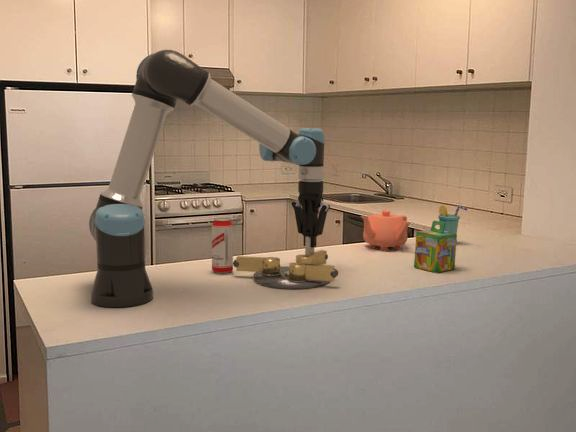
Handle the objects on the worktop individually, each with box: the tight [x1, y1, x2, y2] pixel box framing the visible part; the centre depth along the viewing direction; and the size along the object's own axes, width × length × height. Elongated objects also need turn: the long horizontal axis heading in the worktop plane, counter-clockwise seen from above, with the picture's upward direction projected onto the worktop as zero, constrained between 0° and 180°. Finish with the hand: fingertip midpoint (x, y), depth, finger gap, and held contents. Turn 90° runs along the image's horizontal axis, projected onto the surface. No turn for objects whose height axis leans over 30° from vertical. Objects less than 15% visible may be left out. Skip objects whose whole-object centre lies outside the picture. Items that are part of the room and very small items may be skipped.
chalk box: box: [413, 220, 458, 274], centre depth 196 cm, size 9×9×15 cm
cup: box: [437, 204, 468, 235], centre depth 234 cm, size 14×8×15 cm, turn 35°
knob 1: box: [233, 255, 281, 275], centre depth 184 cm, size 14×5×4 cm, turn 82°
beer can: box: [211, 217, 234, 275], centre depth 189 cm, size 6×6×16 cm
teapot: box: [360, 209, 410, 252], centre depth 227 cm, size 16×17×14 cm
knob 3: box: [289, 262, 339, 282], centre depth 175 cm, size 14×5×4 cm, turn 76°
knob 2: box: [295, 249, 329, 265], centre depth 190 cm, size 14×5×4 cm, turn 142°
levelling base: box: [253, 265, 331, 291], centre depth 183 cm, size 22×22×2 cm
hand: (309, 257), depth 194 cm, fingers closed
